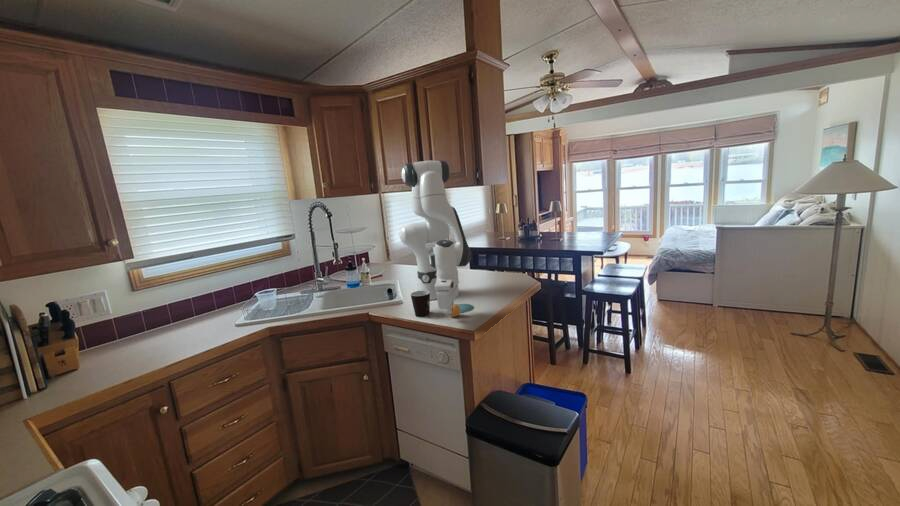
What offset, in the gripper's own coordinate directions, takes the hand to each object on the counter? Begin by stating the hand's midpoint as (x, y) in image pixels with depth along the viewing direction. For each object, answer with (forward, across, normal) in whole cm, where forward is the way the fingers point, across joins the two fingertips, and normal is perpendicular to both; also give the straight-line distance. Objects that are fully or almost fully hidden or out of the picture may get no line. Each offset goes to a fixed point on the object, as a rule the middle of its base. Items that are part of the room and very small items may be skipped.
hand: (450, 312), depth 152 cm
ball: (+1, -5, 0) cm, 5 cm away
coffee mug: (+4, -8, -15) cm, 17 cm away
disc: (+4, -15, 0) cm, 16 cm away
